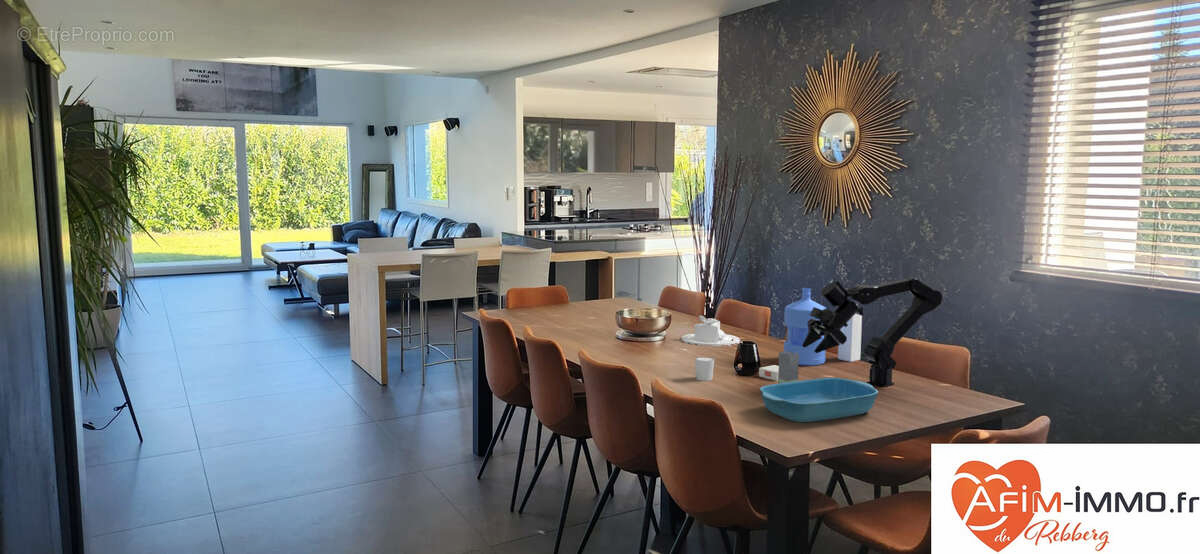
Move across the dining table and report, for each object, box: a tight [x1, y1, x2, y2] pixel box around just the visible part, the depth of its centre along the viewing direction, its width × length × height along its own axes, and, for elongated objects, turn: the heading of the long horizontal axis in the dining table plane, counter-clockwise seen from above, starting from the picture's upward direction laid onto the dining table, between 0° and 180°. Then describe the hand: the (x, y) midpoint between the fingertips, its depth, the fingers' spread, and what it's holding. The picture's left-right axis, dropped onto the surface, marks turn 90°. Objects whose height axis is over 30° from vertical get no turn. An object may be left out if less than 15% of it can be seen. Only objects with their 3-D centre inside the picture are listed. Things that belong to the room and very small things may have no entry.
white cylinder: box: [694, 356, 715, 382], centre depth 281 cm, size 7×7×7 cm
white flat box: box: [758, 364, 779, 382], centre depth 285 cm, size 8×8×3 cm
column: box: [777, 350, 799, 384], centre depth 268 cm, size 5×5×12 cm
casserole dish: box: [759, 377, 879, 423], centre depth 242 cm, size 37×22×7 cm, turn 114°
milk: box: [837, 303, 863, 363], centre depth 312 cm, size 6×6×22 cm
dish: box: [681, 315, 741, 347], centre depth 350 cm, size 25×25×11 cm
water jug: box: [783, 287, 827, 367], centre depth 308 cm, size 16×16×28 cm
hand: (809, 349), depth 269 cm, fingers open, 9 cm apart
